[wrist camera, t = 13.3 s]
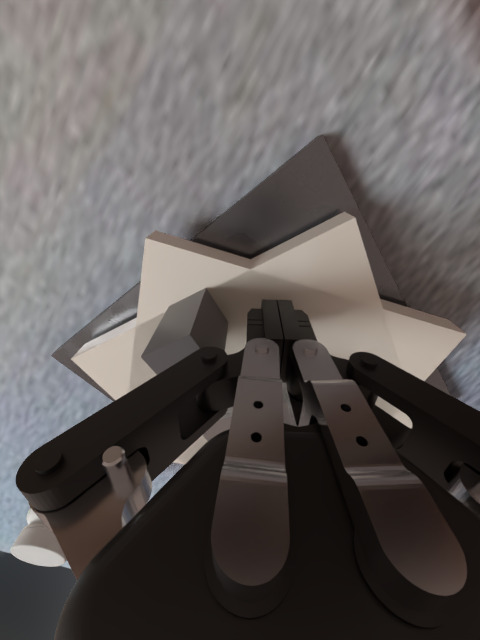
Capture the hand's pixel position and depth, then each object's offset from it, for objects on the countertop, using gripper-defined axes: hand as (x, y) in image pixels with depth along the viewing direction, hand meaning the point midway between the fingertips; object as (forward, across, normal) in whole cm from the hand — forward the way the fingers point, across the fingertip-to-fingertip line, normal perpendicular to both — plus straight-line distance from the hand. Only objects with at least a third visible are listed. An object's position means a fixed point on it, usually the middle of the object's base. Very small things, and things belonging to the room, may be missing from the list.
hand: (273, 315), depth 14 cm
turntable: (+2, 0, +8) cm, 8 cm away
